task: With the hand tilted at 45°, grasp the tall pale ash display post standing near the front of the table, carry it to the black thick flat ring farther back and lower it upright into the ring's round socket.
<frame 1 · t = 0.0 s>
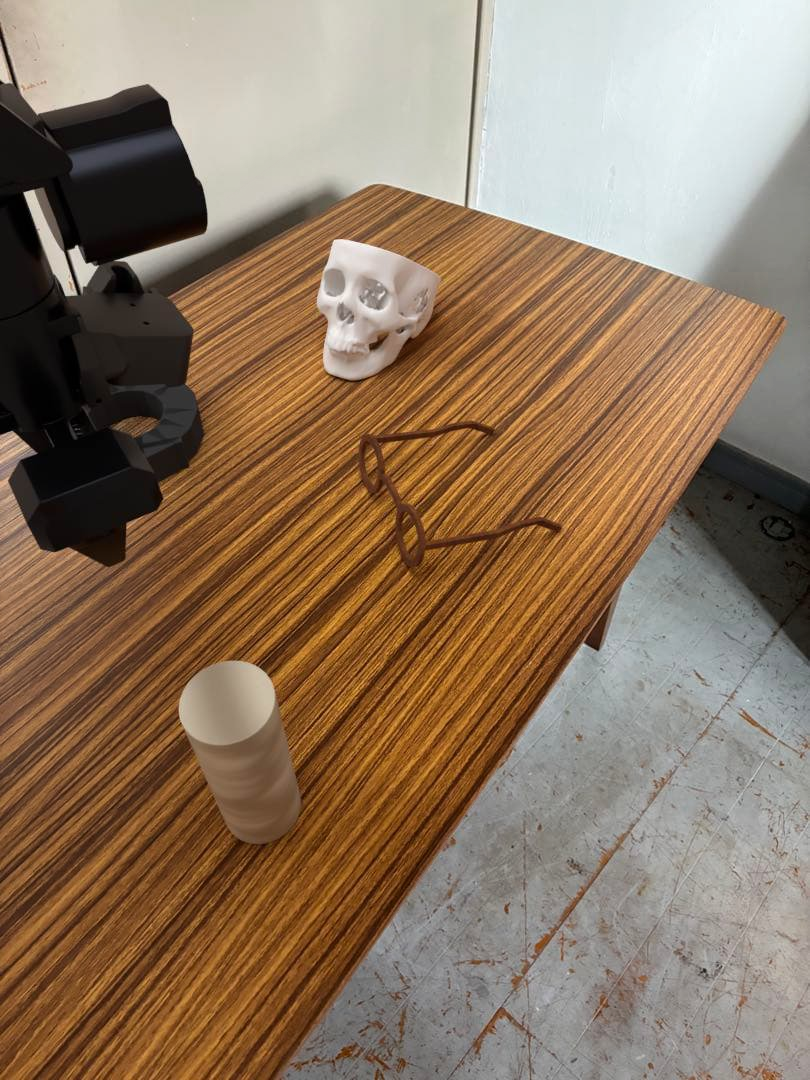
hand: (90, 513, 50), 12 cm above the table, tool pointing down, fingers open, 9 cm apart
skull bowl: (376, 339, 82), on the table
black thick flat ring: (134, 439, 72), on the table
display post: (262, 805, 51), on the table
glasses: (456, 502, 68), on the table
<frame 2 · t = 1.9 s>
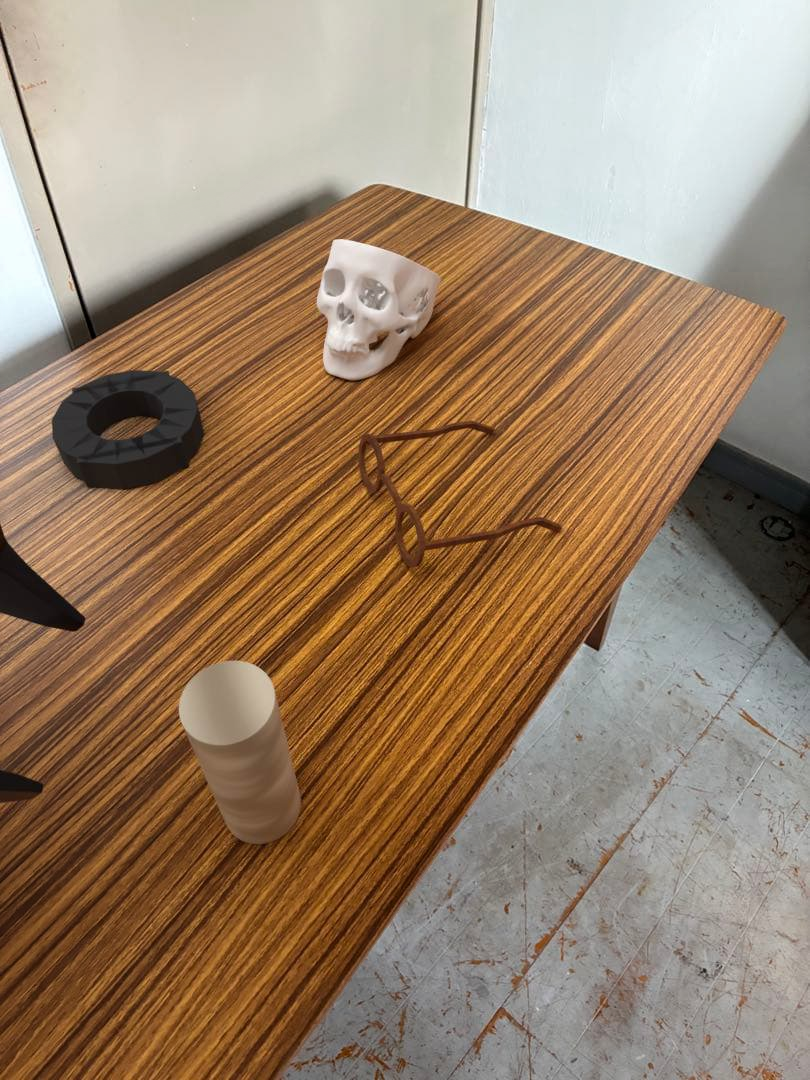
hand: (62, 702, 40), 13 cm above the table, tool tilted 45°, fingers open, 9 cm apart
nothing on the table moved.
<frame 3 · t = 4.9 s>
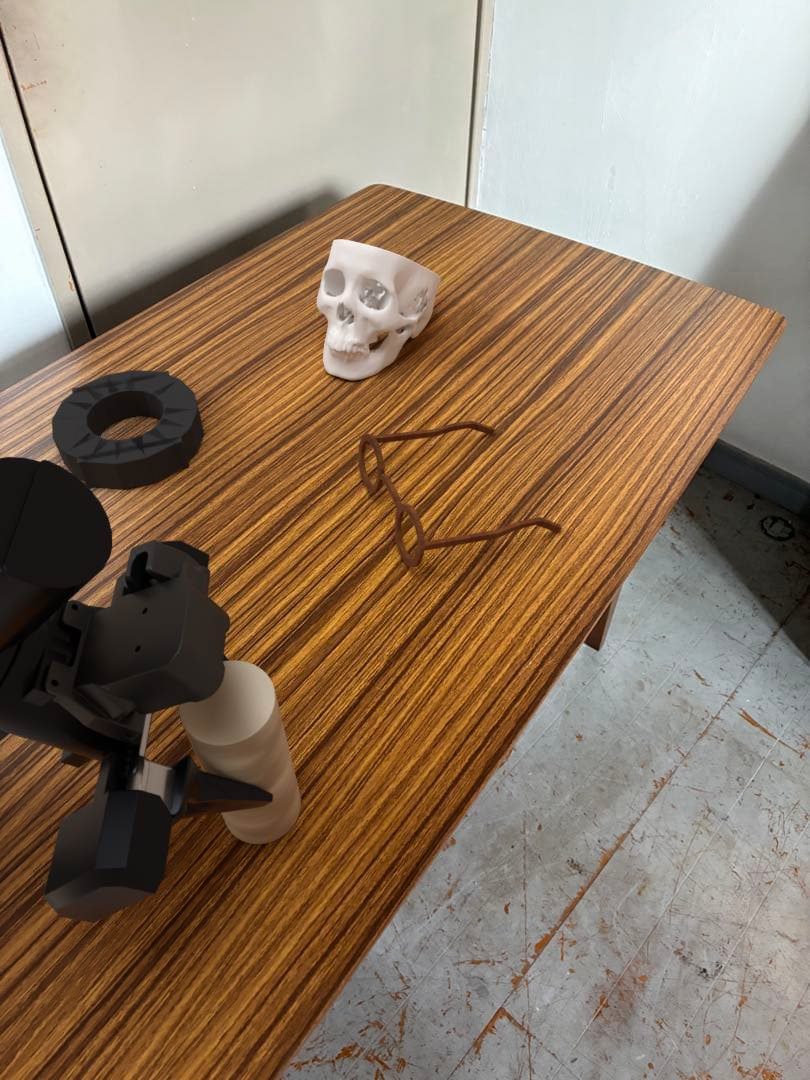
hand: (271, 757, 46), 7 cm above the table, tool tilted 45°, fingers closed on display post, 5 cm apart
display post: (262, 805, 51), on the table, touching gripper
everything else where it was.
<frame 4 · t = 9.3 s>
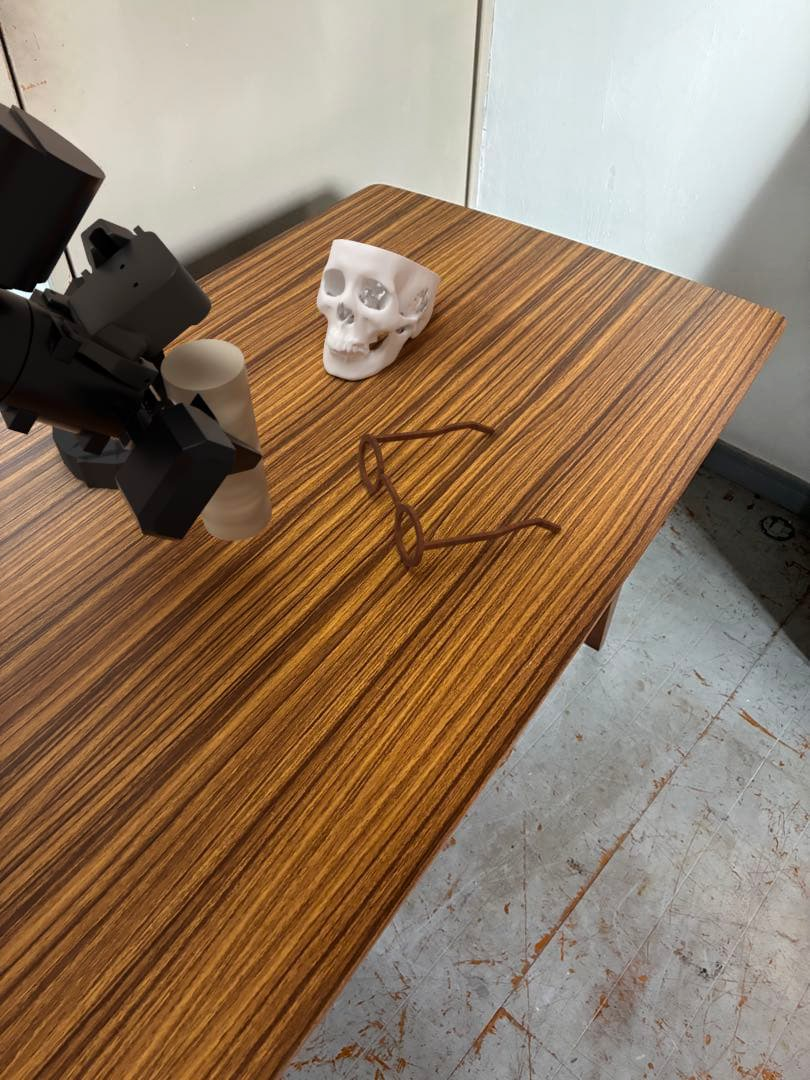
hand: (241, 437, 52), 14 cm above the table, tool tilted 45°, fingers closed on display post, 5 cm apart
display post: (237, 515, 57), point 7 cm above the table, touching gripper
everything else where it was.
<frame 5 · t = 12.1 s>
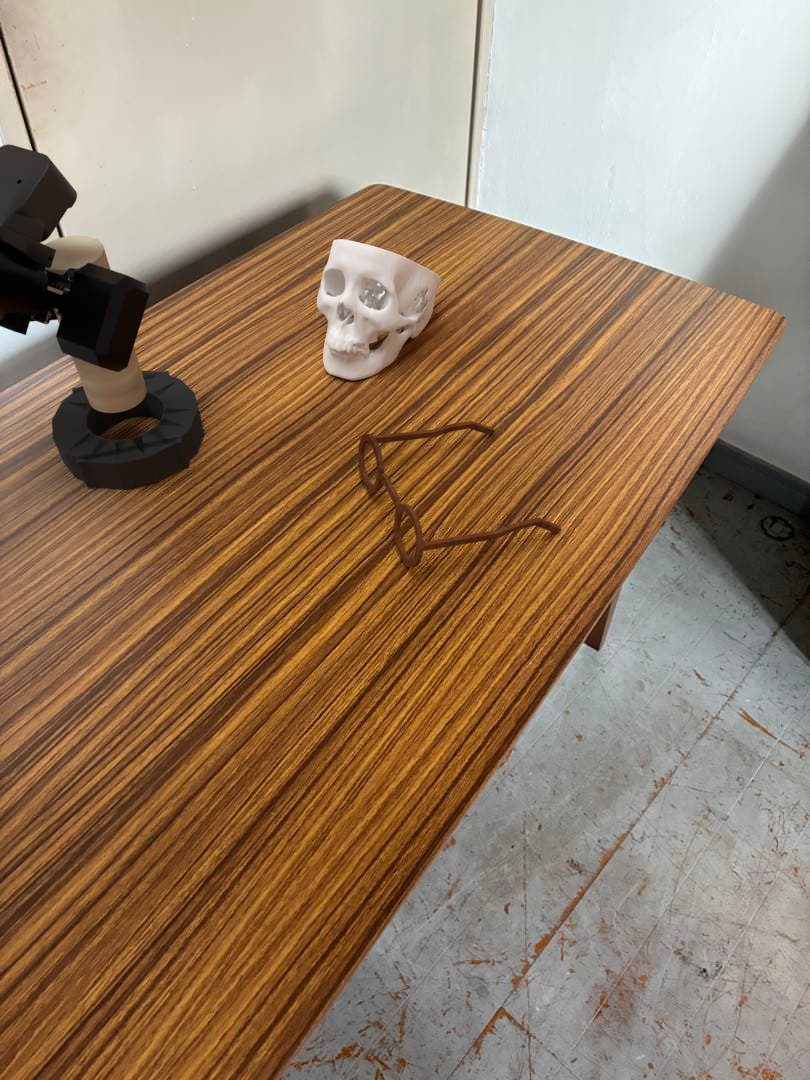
hand: (107, 319, 64), 12 cm above the table, tool tilted 45°, fingers closed on display post, 5 cm apart
display post: (117, 394, 69), point 5 cm above the table, touching gripper
everything else where it was.
when the fingers open (7 cm above the table, at t = 14.0 s): display post stays where it is, resting in black thick flat ring.
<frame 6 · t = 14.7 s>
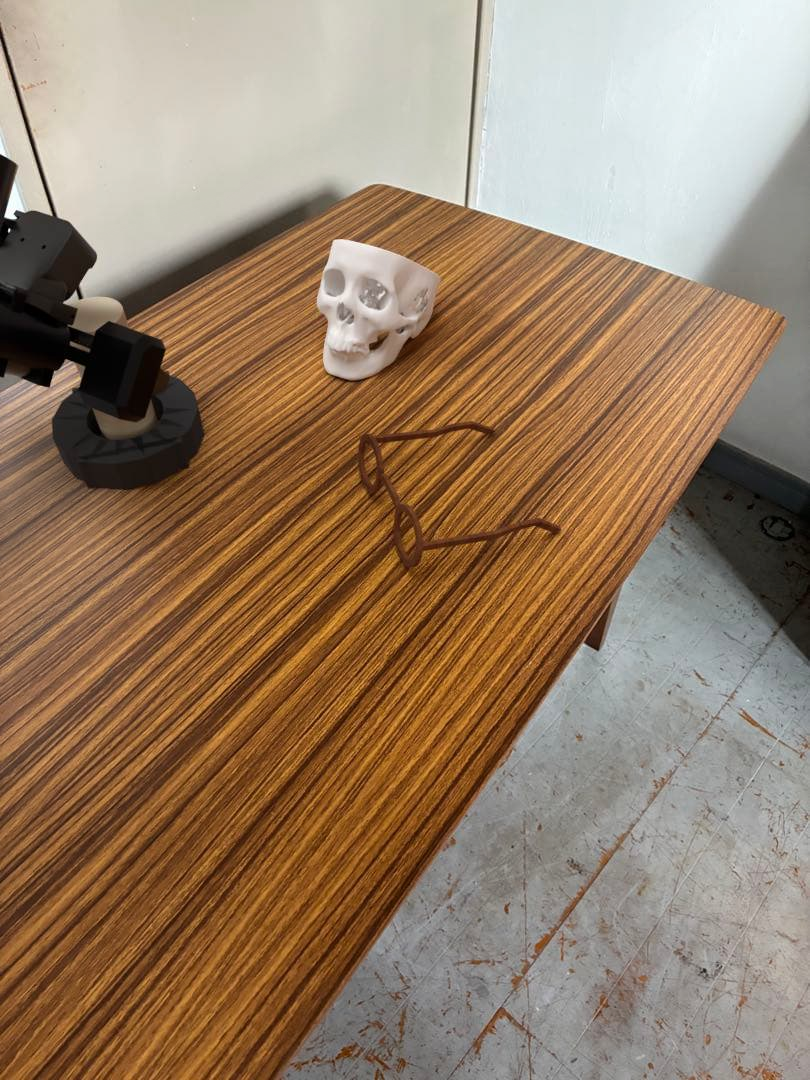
hand: (123, 365, 68), 7 cm above the table, tool tilted 45°, fingers open, 9 cm apart
display post: (134, 439, 73), resting in black thick flat ring
everything else where it was.
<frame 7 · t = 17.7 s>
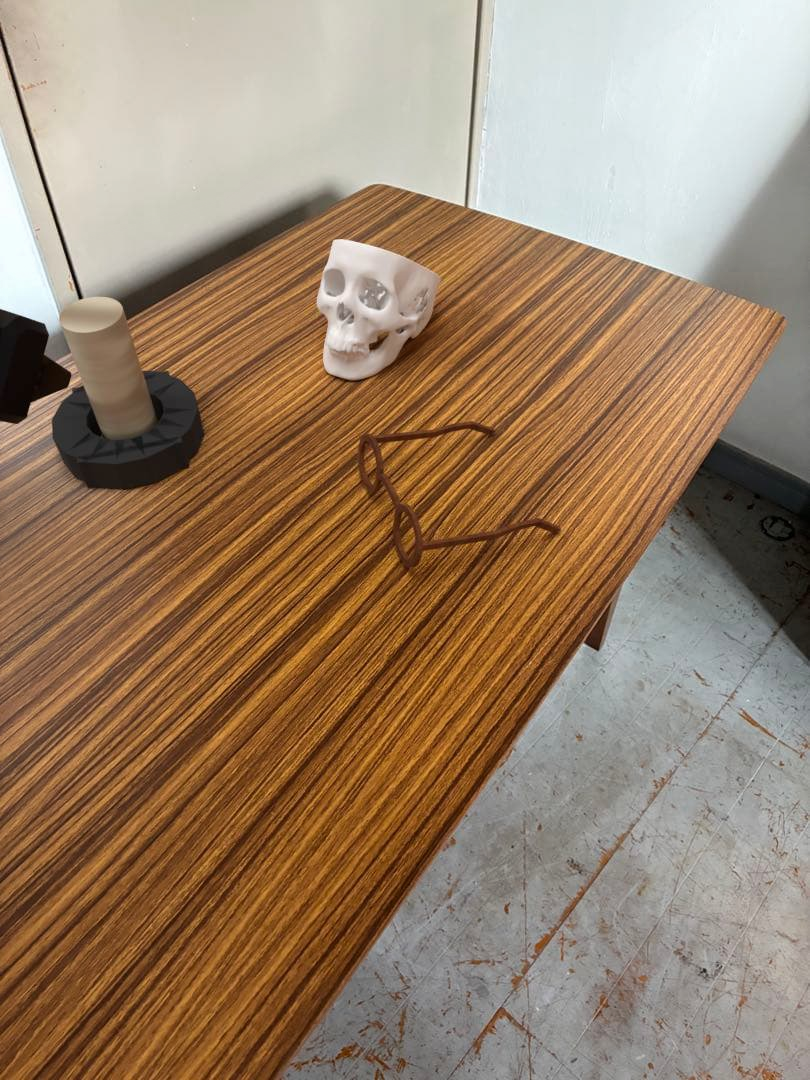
hand: (19, 362, 58), 13 cm above the table, tool tilted 45°, fingers open, 9 cm apart
nothing on the table moved.
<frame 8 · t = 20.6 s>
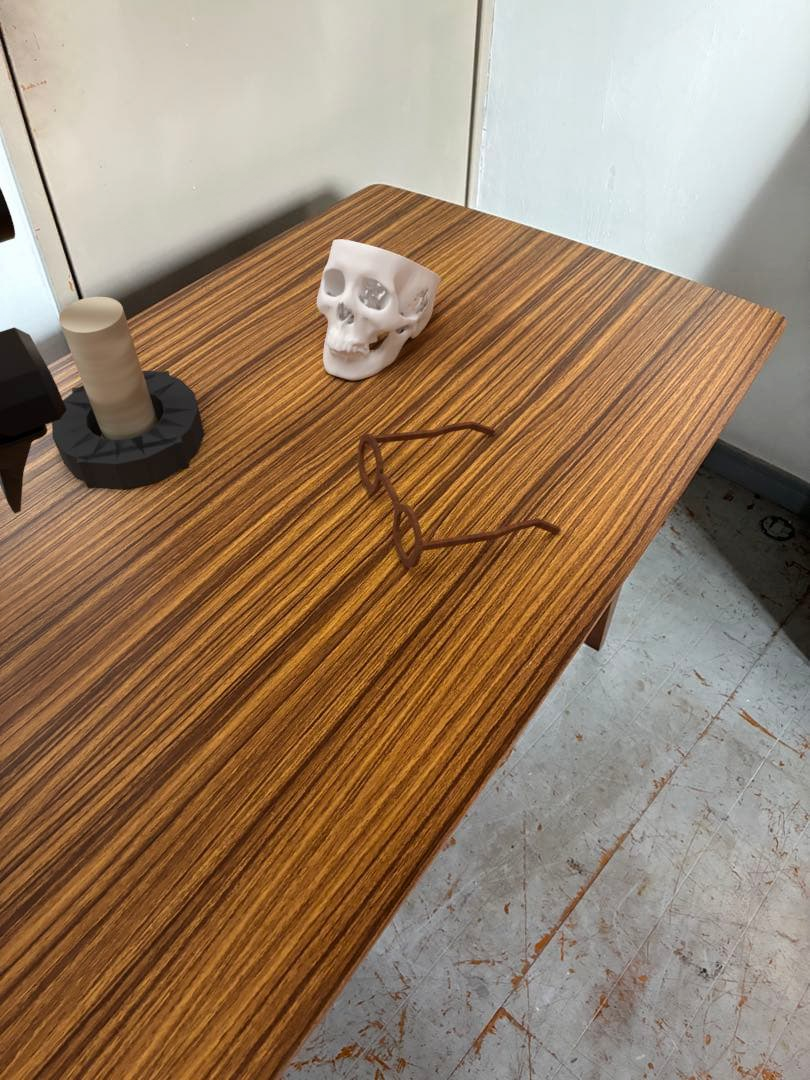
nothing on the table moved.
at the end: display post 0.0 cm off-centre in the black thick flat ring, point 0.0 cm above the black thick flat ring's base; display post tilted 0°; the gripper is holding nothing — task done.
